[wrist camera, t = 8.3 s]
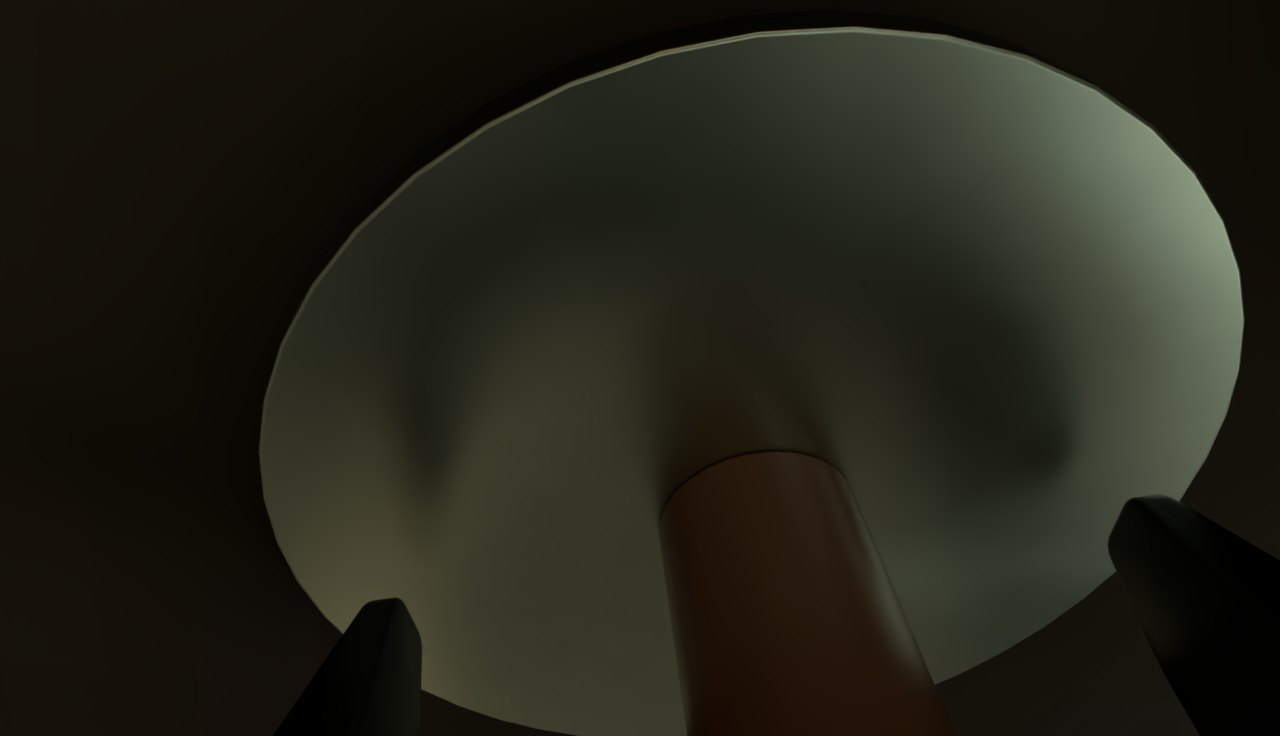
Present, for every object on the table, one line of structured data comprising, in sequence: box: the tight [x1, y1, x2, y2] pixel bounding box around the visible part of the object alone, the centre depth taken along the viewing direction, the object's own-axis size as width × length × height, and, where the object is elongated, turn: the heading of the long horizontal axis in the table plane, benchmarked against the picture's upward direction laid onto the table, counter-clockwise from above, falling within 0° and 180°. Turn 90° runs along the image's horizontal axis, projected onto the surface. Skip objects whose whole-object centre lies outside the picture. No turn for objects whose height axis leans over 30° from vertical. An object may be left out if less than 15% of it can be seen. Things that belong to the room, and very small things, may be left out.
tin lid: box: [258, 10, 1245, 736], centre depth 9 cm, size 12×12×5 cm
